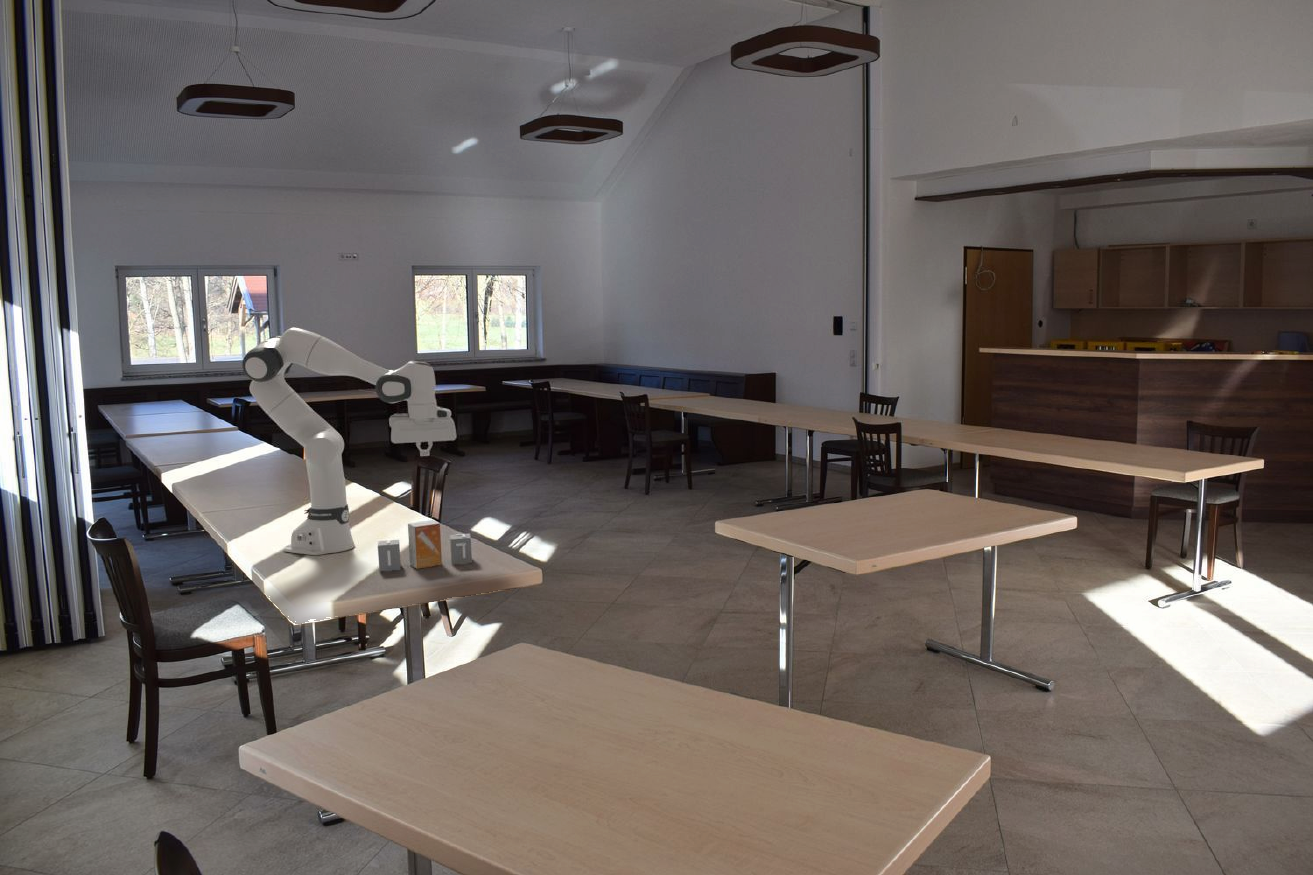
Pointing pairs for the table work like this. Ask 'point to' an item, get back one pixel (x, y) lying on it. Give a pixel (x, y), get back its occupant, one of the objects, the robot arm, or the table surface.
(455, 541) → the numbered block seven
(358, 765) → the table surface
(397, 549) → the numbered block one
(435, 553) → the small box
